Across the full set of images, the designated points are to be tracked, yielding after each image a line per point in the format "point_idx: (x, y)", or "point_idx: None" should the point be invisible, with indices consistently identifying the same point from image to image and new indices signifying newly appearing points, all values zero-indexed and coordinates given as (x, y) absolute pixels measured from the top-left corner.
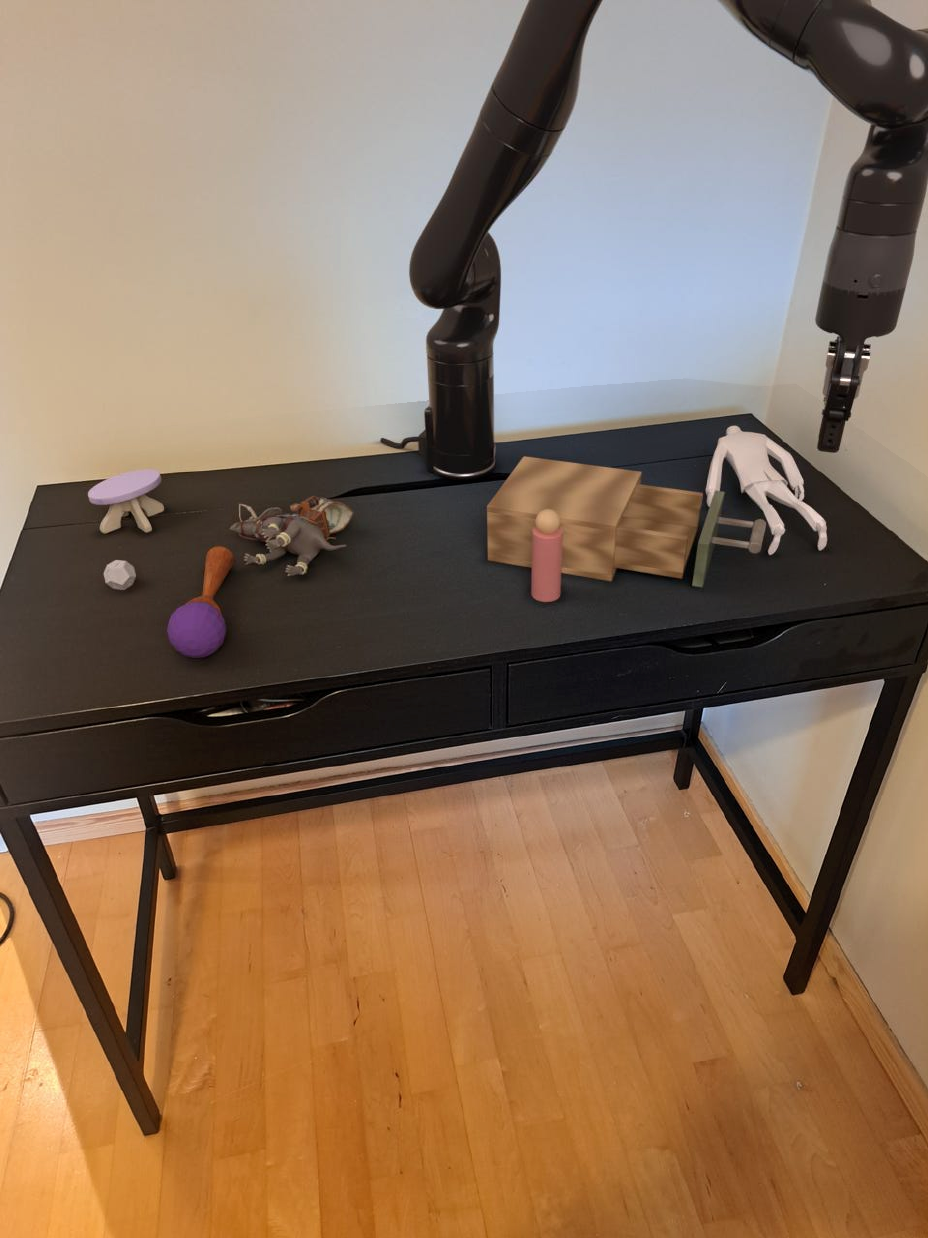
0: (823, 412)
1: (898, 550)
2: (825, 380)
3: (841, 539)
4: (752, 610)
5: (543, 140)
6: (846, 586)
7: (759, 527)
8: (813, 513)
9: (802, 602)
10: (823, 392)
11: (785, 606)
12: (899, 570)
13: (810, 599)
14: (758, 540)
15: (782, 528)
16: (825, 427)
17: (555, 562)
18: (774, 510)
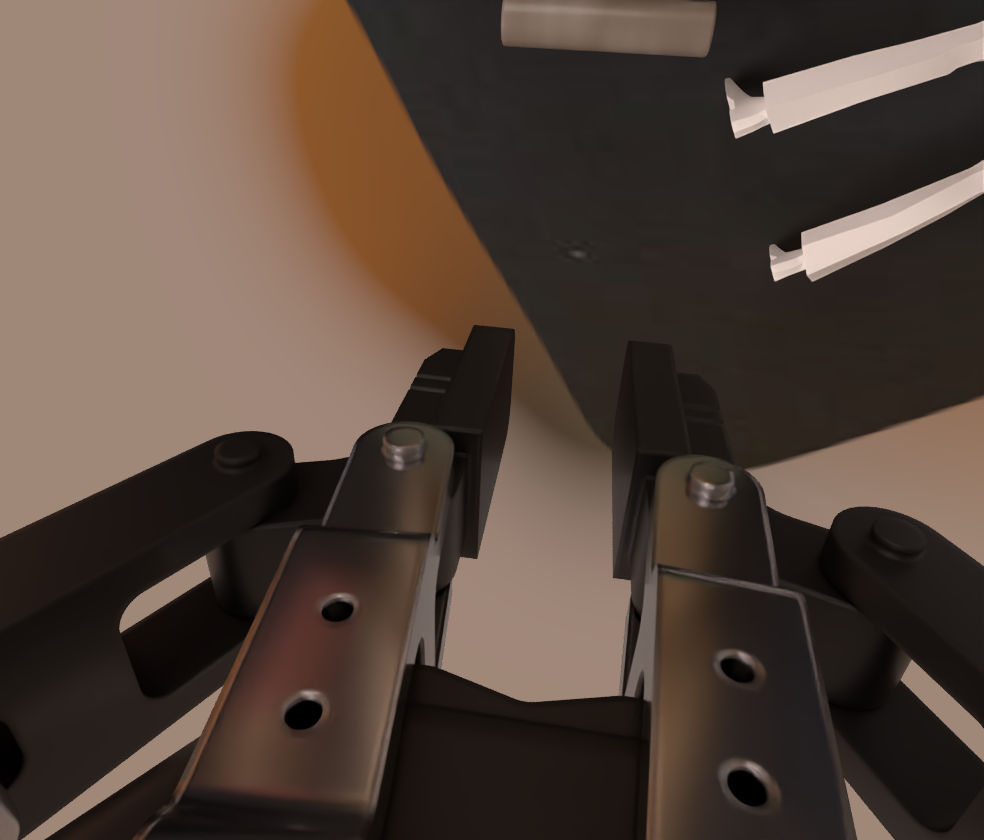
0: (218, 456)
1: (790, 445)
2: (252, 641)
3: (851, 314)
4: (383, 43)
5: None
6: (579, 308)
7: (635, 28)
8: (853, 243)
9: (469, 192)
10: (302, 536)
11: (435, 144)
12: None
13: (490, 214)
14: (529, 30)
15: (736, 127)
16: (412, 414)
17: None
18: (875, 90)
